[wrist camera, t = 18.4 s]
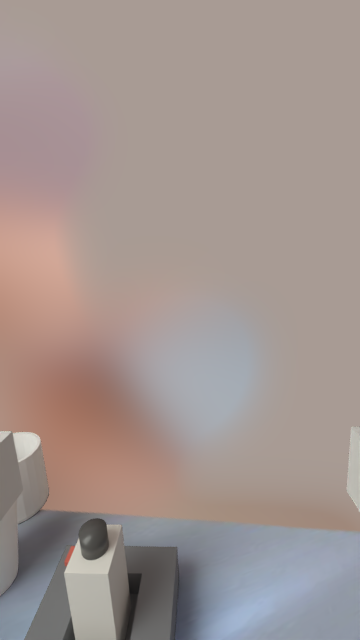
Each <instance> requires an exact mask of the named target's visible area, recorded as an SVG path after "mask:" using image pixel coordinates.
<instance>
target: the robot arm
mask: <svg viewBox="0 0 360 640" xmlns="http://www.w3.org/2000/svg"><path fill="white" fill-rule="evenodd" d="M22 491H23V485H22V480H21V475H20V470H19V464H18V459H17V454H16V449H15V443H14V438H13V433H12V431H6V432H5V431H4V432H3V431H1V432H0V521H1V520H2V518H3V517H4V516H5V514H6V513H7V512H8V510H9V509H10V508H11V506H12V505H13V504H14V502H15V501H16V499H17V498H18V497H19V495H20V494H21V493H22ZM347 492H348V494H349V495H350V497H351V499H352V500H353V502H354V503H355V505H356V507H357V508H358V510H359V511H360V427H351V437H350V450H349V465H348V479H347Z"/></svg>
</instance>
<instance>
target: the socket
mask: <svg viewBox="0 0 360 640" xmlns="http://www.w3.org/2000/svg"><path fill="white" fill-rule="evenodd" d="M74 548H75V546H71V545H67V546H66V549H65V551H64V553H63V555H62V557H61V560H60V562H59V564H58V566H57V568H56V571H55V573H54V575H53V577H52V579H51V582H50V584H49V586H48V588H47V591H46V593H45V595H44V597H43V599H42V602H41V604H40V606H39V608H38V610H37V613H36V615H35V617H34V619H33V621H32V624H31V626H30V628H29V630H28V632H27V635H26V637H25V639H24V640H75V635H74V629H73V623H72V617H71V611H70V605H69V600H68V594H67V588H66V582H65V576H64V572H65V570H66V567H67V565H68V563H69V560H70V558H71V556H72V553H73V551H74ZM124 548H125V557H126V565H127V574H128V583H129V592H130V600H131V610H130V615H129V621H128V626H127V631H126V636H125V640H175V631H176V615H177V599H178V584H179V569H178V555H177V547H138V546H124Z"/></svg>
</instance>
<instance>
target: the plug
mask: <svg viewBox="0 0 360 640" xmlns="http://www.w3.org/2000/svg"><path fill="white" fill-rule="evenodd" d="M64 576H65V582H66V588H67V594H68V600H69V605H70V611H71V617H72V623H73V629H74V635H75V640H125V636H126V631H127V626H128V621H129V615H130V610H131V600H130V592H129V583H128V574H127V565H126V557H125V548H124V539H123V530H122V525H106V522H105V521H104V520H102V519H98V518H97V519H91V520H89V521H87V522H86V523H84V524H83V525H82V527H81V528H80V530H79V539H78V541H77V544H76V546H75V548H74V551H73V553H72V556H71V558H70V560H69V563H68V565H67V567H66V570H65V572H64Z"/></svg>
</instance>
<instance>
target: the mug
mask: <svg viewBox="0 0 360 640" xmlns="http://www.w3.org/2000/svg"><path fill="white" fill-rule="evenodd" d="M13 438H14V443H15V449H16V454H17V459H18V464H19V470H20V475H21V480H22V485H23V491H22V493H21V494H20V495H19V497H18V498H17V524H20V523H22V522H24V521H26V520H27V519H29V518H30V517H32V516H33V515H35V514H36V513H37V512H38V511H39V510H40V509H41V508H42V507H43V505H44V504H45V502H46V501H47V498H48V496H49V488H48V481H47V475H46V470H45V464H44V458H43V452H42V446H41V441H40V438H39V436H38V435H36V434H34V433H30V432H19V433H13Z"/></svg>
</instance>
